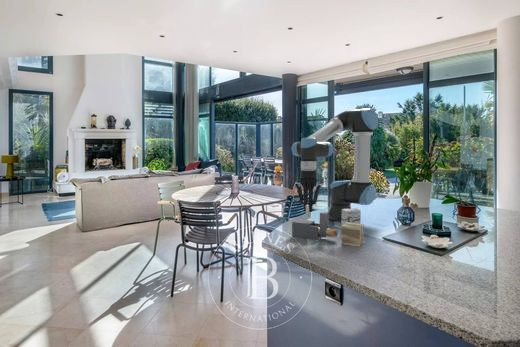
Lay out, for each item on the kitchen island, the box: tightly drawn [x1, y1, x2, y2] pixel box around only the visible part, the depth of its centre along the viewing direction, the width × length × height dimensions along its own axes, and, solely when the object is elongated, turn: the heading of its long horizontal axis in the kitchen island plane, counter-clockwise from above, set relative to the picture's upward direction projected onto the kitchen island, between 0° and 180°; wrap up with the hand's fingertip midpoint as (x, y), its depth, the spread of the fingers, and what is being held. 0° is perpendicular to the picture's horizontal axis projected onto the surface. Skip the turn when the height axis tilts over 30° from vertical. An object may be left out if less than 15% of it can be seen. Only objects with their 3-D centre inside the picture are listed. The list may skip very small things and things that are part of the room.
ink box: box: [340, 208, 362, 232], centre depth 171 cm, size 9×5×12 cm, turn 103°
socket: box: [341, 222, 365, 248], centre depth 152 cm, size 8×8×8 cm
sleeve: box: [291, 218, 322, 241], centre depth 163 cm, size 7×13×8 cm, turn 61°
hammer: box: [318, 210, 339, 239], centre depth 160 cm, size 4×18×12 cm, turn 61°
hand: (308, 218), depth 162 cm, fingers closed
